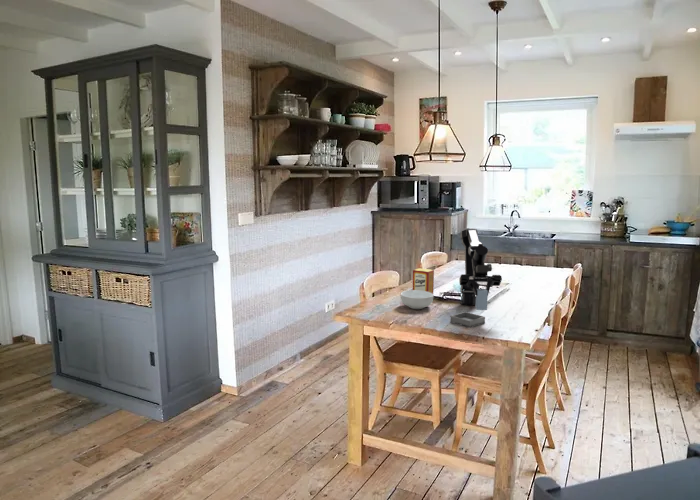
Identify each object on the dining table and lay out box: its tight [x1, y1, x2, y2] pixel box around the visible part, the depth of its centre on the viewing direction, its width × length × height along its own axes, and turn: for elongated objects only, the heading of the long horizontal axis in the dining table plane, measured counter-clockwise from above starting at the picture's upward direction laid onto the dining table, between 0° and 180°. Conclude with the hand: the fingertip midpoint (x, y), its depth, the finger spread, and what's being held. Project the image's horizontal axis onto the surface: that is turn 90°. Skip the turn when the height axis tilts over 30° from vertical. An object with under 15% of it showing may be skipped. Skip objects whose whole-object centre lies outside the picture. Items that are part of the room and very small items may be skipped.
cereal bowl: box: [400, 289, 434, 310], centre depth 273 cm, size 17×17×7 cm
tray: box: [449, 311, 486, 328], centre depth 246 cm, size 11×11×3 cm
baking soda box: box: [412, 267, 435, 295], centre depth 291 cm, size 10×6×16 cm
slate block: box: [475, 288, 489, 311], centre depth 244 cm, size 4×4×9 cm
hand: (482, 295), depth 242 cm, fingers closed on slate block, 4 cm apart
